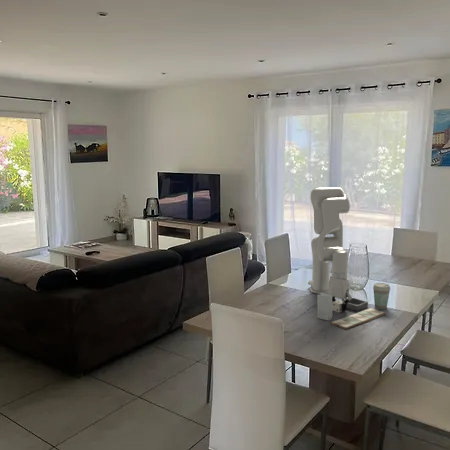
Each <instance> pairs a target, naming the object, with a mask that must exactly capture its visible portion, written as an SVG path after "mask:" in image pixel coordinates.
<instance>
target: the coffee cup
mask: <svg viewBox="0 0 450 450" xmlns="http://www.w3.org/2000/svg"><path fill="white" fill-rule="evenodd" d="M372 289H373V299H374V302H373V303H374V309H376V310H386V309H387V308H388V302H389V299H390V297H389V296H390V291H391V287H390V285H389V283H385V282H377V283H374V284H373V286H372Z"/></svg>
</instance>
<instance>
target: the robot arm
mask: <svg viewBox="0 0 450 450" xmlns="http://www.w3.org/2000/svg"><path fill="white" fill-rule="evenodd" d="M310 203H311V206H312V208H313V231H314V234H316V235H318V236H316V237H314V238H313V239H311V241H310V242H311V243H310V245H311V246H310V247H311V254H312V271H311V272H312V273H311V274H312V277H311V278H312V279H311V280H309V281H308V282H307V285H310V287H309V291H310V292H311V293H314V294H317V295H318V294H320V293H325V294H330V295H332V302H333V301H336V300H337V299H339V300H340V299H341V301H342V302H343V304H342V312H345V311H347V303H348V302H349V301H350V300H351V299H352V298H353V297H352V295H351V294H350V284H349V278H348V262H349V261H348V260H349V259H348V258H349V257H348V256H349V255H348V251H346V249H345V248H344V247H343V246H344V245H343V244H344V232H343V231H344V228H343V227H344V226H343V221H342V219H341V217H340V215H341V214H348V213H349V212H350V210H351V209H350V208H351V205H350V200H349V198H348V196H347V194H346V192H345V191H344V189H343V188H341V187H317V188H314V189H312V190H311V191H310ZM328 235H333V236H328ZM330 263H331V270H330ZM330 273H331V276H330Z"/></svg>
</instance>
